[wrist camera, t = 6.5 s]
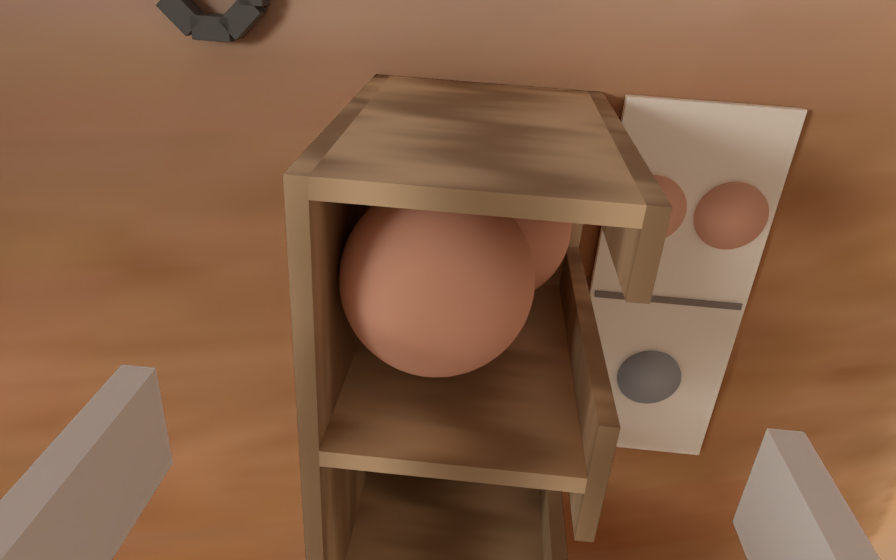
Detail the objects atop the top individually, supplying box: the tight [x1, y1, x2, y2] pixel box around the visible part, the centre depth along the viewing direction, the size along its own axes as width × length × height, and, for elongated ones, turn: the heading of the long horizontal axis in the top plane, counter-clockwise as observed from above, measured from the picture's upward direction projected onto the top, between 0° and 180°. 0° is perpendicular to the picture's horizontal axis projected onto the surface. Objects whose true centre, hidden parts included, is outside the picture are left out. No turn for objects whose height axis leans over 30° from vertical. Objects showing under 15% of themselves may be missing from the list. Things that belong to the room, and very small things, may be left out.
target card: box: [589, 94, 807, 455], centre depth 30 cm, size 7×18×1 cm, turn 177°
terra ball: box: [339, 206, 535, 377], centre depth 20 cm, size 6×6×6 cm
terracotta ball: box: [514, 218, 572, 290], centre depth 26 cm, size 6×6×6 cm
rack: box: [283, 74, 673, 560], centre depth 25 cm, size 9×18×13 cm, turn 177°
